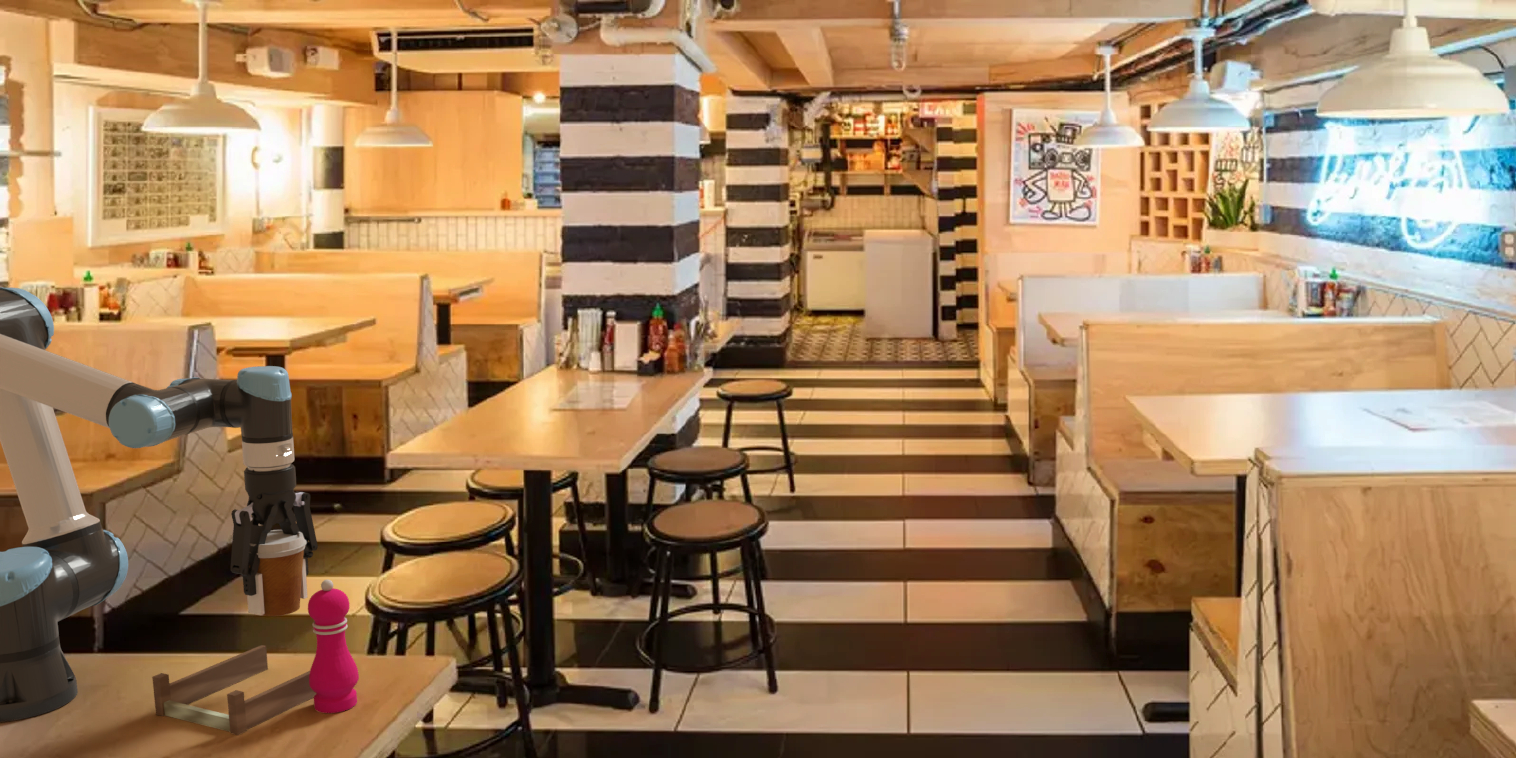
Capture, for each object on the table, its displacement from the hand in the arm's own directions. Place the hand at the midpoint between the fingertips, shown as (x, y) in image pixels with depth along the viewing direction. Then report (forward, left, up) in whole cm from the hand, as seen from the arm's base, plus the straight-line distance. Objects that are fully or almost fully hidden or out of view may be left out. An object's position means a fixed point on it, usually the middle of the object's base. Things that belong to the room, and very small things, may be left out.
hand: (278, 604), depth 201 cm
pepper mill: (+14, -3, -13) cm, 20 cm away
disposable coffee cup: (0, 0, -1) cm, 1 cm away
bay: (0, -7, -13) cm, 15 cm away
